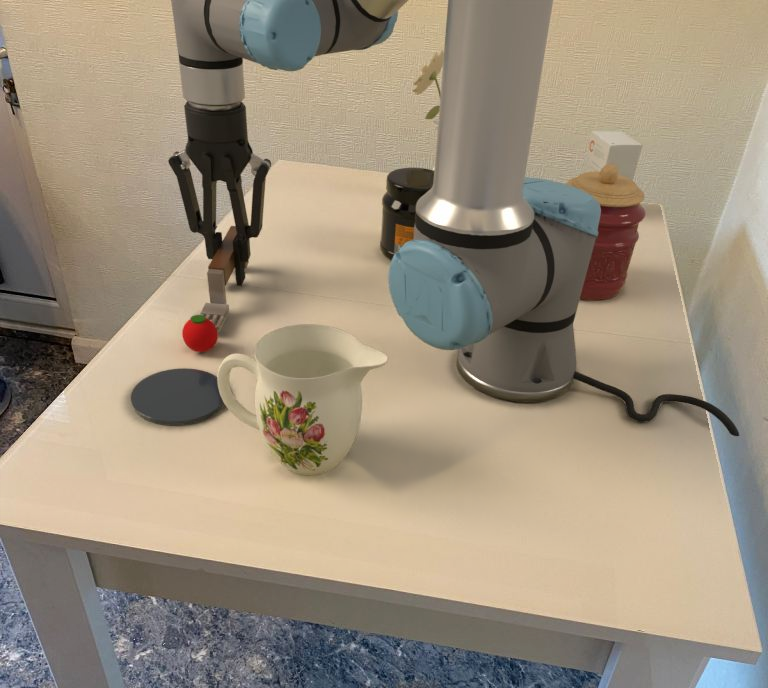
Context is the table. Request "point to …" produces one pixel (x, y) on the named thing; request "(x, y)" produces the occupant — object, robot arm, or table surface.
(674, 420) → the table surface
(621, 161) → the small box
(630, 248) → the kitchen canister
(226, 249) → the fork
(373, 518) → the table surface
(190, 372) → the plate
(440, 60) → the flower in vase
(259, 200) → the robot arm
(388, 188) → the supplement container
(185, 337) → the tomato
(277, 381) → the pitcher
